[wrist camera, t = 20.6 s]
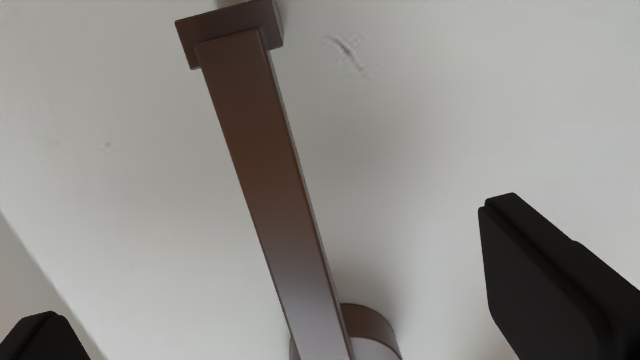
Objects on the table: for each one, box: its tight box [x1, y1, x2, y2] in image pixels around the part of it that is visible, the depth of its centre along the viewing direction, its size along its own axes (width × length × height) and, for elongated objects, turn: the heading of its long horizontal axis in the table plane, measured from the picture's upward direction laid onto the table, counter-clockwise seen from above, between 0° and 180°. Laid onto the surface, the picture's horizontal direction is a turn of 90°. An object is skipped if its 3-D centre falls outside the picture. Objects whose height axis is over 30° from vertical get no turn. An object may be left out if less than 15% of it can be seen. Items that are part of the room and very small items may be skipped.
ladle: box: [175, 0, 403, 360], centre depth 17 cm, size 20×6×8 cm, turn 14°
